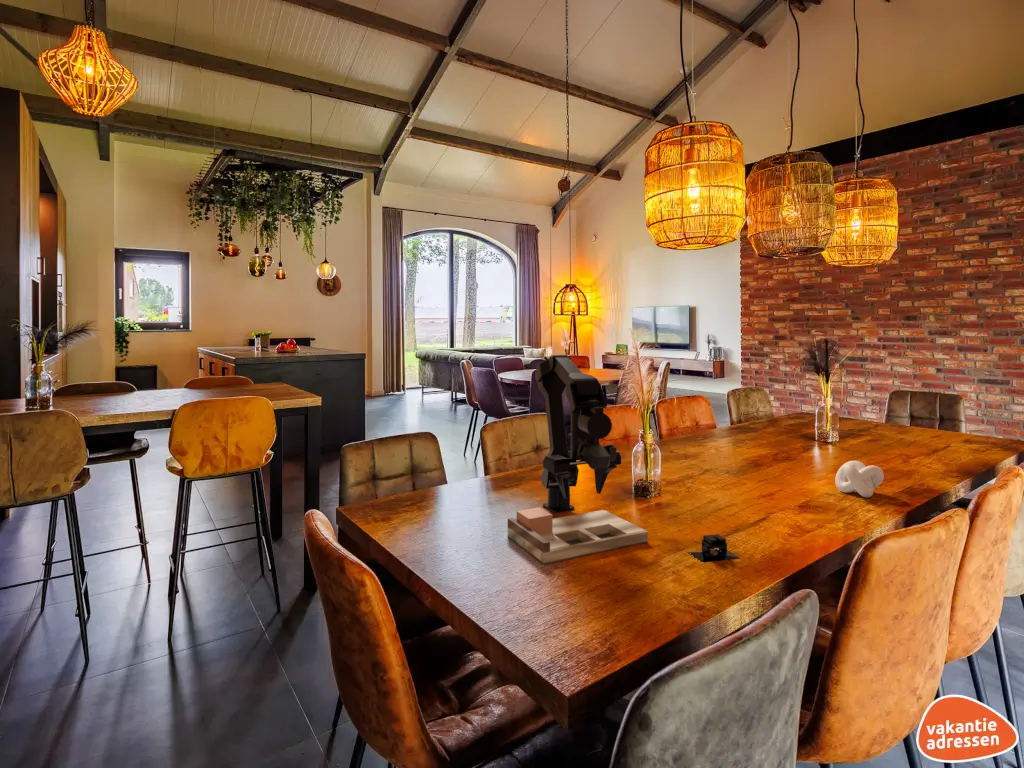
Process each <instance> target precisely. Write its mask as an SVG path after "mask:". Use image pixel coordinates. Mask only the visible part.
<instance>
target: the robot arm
mask: <svg viewBox="0 0 1024 768" xmlns="http://www.w3.org/2000/svg"><path fill="white" fill-rule="evenodd" d="M534 375H535V377H534V379H535V381H536V382H537V388H538V390H539V392H540V393H541V394H542V395H543V397H544V399H545V401H544V402H545V411H546V412H545V413H546V419H547V421H546V422H547V432H548V442H549V449H550V450H549V452H548V454H547V455H545V456H544V458H543V460H542V468H543V470H542V472H541V475H540V482H541V485H542V486H543V487H544V488H545V489H547V502H545V503H542V506H543V507H545V508H546V509H548V510H549V511H551V512H553V513H557V512H559V513H560V512H563V511H570V510H575V506H573V505H571V488H570V487H577V484H578V478H579V471H580V469H579V467H578V466H580V465H587V466H588V467H589V468H590V469H592V470H594V481H595V482H594V485H595V491H596V493H597V494H598V495H600V494H601V493H602V491H603V488H604V485H605V483H606V480H607V478H608V475H609V473H610V472H611V471H613V470H614V469H617V467H618V466H620V465H622V455H621V453H620V452H619V451H617V446H615V445H614V444H606V445H601V444H600V440H601V439H605V438H606V437H607V436H609V435H610V433H611V431H612V428H613V423H612V420H611V418H610V416H608V414H606V413H604V411H605V410H604V409H607V404H606V403H607V398H606V396H605V393H604V390H603V387H602V385H601V383H600V381H599V379H598V378H597V377H595V376H593V375H591V374H586V373H583V372H582V371H581V370H580V369H579V368H578V367H577V365H576V364H575V363H574V362H573V361H572V360H571V357H570V355H567V354H553V355H550V356H549V357H548V359H546V360H544V361H543V362H541V363H539V364H538V366H537V367H536V370H535V372H534ZM564 391H565V395H566V398H567V400H568V403H569V410H570V433H567V430H566V421H565V420H566V419H565V412H564V403H563V402H564V401H563V393H564ZM567 439H569V440H570V449H569V447H568V441H567Z"/></svg>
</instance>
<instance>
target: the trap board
mask: <svg viewBox="0 0 1024 768" xmlns="http://www.w3.org/2000/svg"><path fill="white" fill-rule="evenodd" d="M648 536H649V531H648V530H646V529H644V528H642V527H639V526H638V525H636V524H633V523H631V522H629V521H627V520H626V519H623V518H621V517H620V516H617V515H616V514H614V513H611V512H609V511H607V510H605V509H600V510H595V511H588V512H584V513H578V514H573V515H567V516H561V517H555V518H553V526H552V532H550V533H545V534H540V535H539V534H537V533H536V532H534V531H533V530H531V529H530V528H528V527H527V526H526V525H524V524H523V523H521V522H520V521H518V520H517V518H515V517H514V516H511V517H507V538H508V539H509V540H510V541H512V542H514V543H515V544H516V545H517V546H519V547H520V548H522V550H524V551H526V553H528V554H529V555H530V556H532V557H533V558H534V559H536V561H538V562H540V563H541V564H542V565H544V566H545V565H549V564H553V563H557V562H562V561H567V560H572V559H577V558H581V557H585V556H591V555H595V554H600V553H604V552H609V551H613V550H619V549H622V548H628V547H632V546H636V545H641V544H645V543H648V541H649V538H648Z"/></svg>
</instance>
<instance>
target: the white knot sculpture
mask: <svg viewBox="0 0 1024 768" xmlns="http://www.w3.org/2000/svg"><path fill="white" fill-rule="evenodd" d="M884 477H885V474H884V471H883V470H882V468H880V467H879V466H877V465H867V466H866V465H865V464H864V463H863V462H862V461H859V460H849V461H846V462H845V463H843V464H841V466H840V467H839V469H838V470H837V472H836V474H835V479H834V480H835V481H834V483H835V486H836V488H837V489H838V490H839V491H840V492H842V493H844V494H848V493H853V492H855V491H856V492H857V493H858V495H860V496H861V497H863V498H871V497H872V496H873V494H874V490H875V489H877V488H878V487H879V486H880V485H881V484H882V482H883V480H884Z"/></svg>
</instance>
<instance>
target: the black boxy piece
mask: <svg viewBox="0 0 1024 768" xmlns="http://www.w3.org/2000/svg"><path fill="white" fill-rule="evenodd" d="M687 552H688V553H687V554H689V555H690V556H691V555H693V556H694V557H693V559H695V558H697V559H698V560H700V561H701V562H704V563H712V562H721V561H733V560H739V559H740V560H741V559H742V558H741V557H740V556H738V555H736V554H735V553H733V552H732V551H730V550H728V543H727V539H726V538H725V537H723V535H720V534H718V533H716V534H709V535H708V534H705V535H703V537H702V540H701V550H697V552H696V551H687ZM690 553H691V554H690ZM698 560H697V561H698Z"/></svg>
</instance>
